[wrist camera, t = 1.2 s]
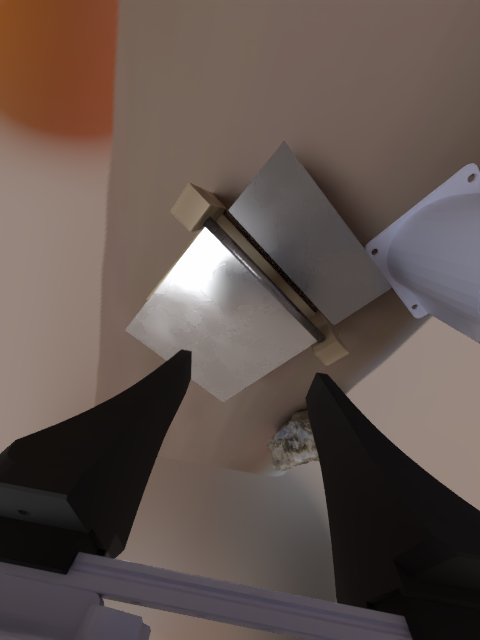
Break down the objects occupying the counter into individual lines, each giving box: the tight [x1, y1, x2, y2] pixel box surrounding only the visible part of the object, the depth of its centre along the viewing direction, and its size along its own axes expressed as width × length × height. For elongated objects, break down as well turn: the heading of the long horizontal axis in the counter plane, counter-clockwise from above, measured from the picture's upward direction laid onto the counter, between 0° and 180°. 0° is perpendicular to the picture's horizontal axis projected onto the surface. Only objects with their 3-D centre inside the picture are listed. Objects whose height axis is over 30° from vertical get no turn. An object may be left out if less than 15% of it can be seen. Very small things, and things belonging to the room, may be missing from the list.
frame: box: [146, 183, 349, 366], centre depth 18 cm, size 16×12×6 cm
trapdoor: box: [126, 141, 392, 402], centre depth 17 cm, size 12×18×4 cm
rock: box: [268, 410, 319, 471], centre depth 25 cm, size 11×6×10 cm
